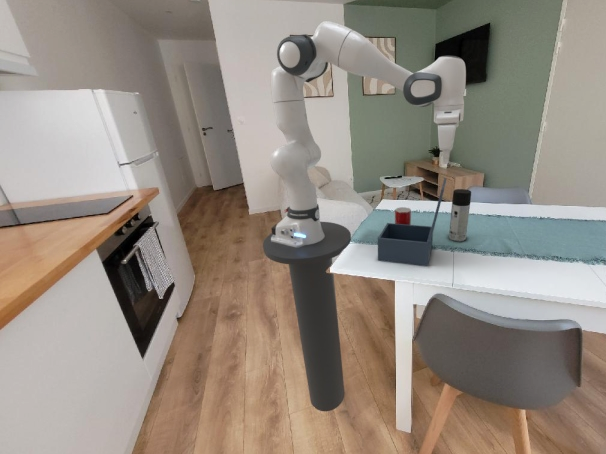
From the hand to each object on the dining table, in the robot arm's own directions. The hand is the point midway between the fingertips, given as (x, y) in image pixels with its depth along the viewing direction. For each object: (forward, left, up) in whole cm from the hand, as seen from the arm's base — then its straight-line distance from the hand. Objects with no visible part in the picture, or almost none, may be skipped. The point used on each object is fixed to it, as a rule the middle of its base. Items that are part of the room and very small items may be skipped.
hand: (446, 160), depth 95 cm
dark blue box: (-12, -4, -34) cm, 36 cm away
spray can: (+6, +14, -34) cm, 37 cm away
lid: (-2, -4, -15) cm, 16 cm away
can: (-16, +10, -34) cm, 39 cm away
